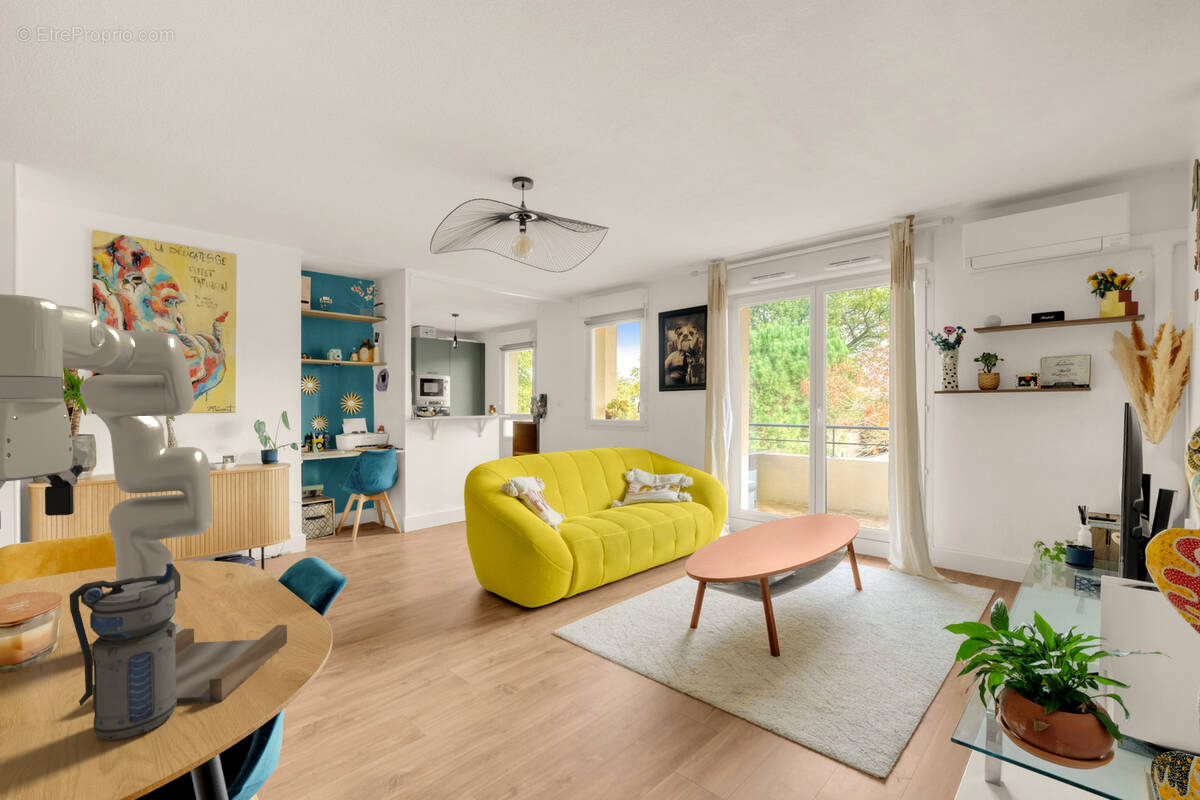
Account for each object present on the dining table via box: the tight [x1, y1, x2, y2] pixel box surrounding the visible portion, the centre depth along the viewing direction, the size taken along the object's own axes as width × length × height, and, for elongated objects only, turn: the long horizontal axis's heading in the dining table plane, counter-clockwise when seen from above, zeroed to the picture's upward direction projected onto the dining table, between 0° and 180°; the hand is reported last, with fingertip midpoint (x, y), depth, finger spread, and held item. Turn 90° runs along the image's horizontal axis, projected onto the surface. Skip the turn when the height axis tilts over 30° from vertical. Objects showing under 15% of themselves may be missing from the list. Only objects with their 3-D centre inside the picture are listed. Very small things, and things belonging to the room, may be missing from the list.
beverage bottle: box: [69, 563, 182, 741], centre depth 85 cm, size 10×13×25 cm
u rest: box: [92, 624, 288, 709], centre depth 102 cm, size 21×22×4 cm
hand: (24, 522), depth 69 cm, fingers open, 9 cm apart
